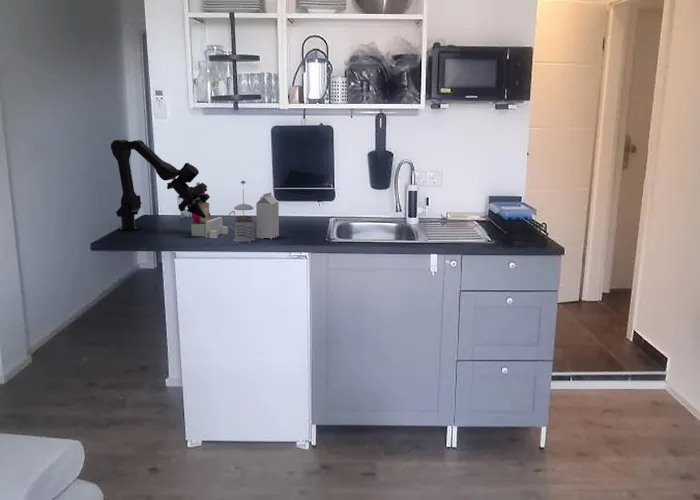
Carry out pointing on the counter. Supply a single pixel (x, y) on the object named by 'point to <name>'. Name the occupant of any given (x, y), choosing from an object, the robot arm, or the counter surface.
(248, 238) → the french press
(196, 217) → the pepper mill
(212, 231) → the backstop wall
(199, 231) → the cradle
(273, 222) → the milk carton
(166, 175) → the robot arm
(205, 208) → the dowel
